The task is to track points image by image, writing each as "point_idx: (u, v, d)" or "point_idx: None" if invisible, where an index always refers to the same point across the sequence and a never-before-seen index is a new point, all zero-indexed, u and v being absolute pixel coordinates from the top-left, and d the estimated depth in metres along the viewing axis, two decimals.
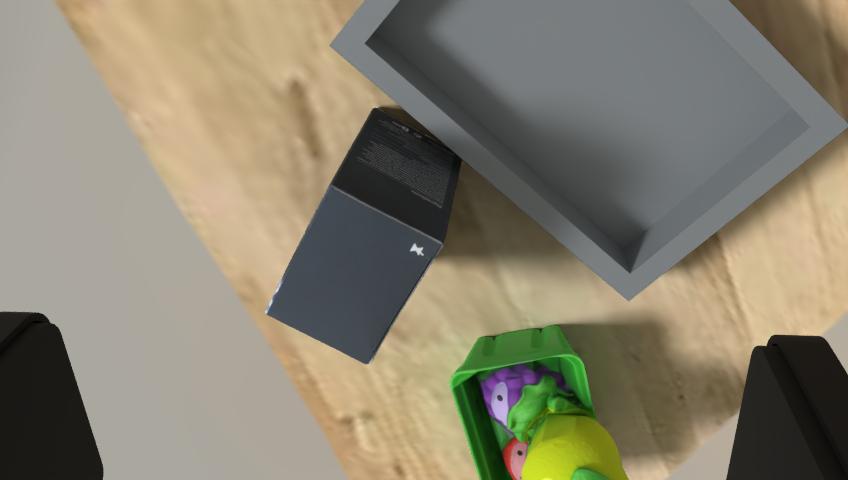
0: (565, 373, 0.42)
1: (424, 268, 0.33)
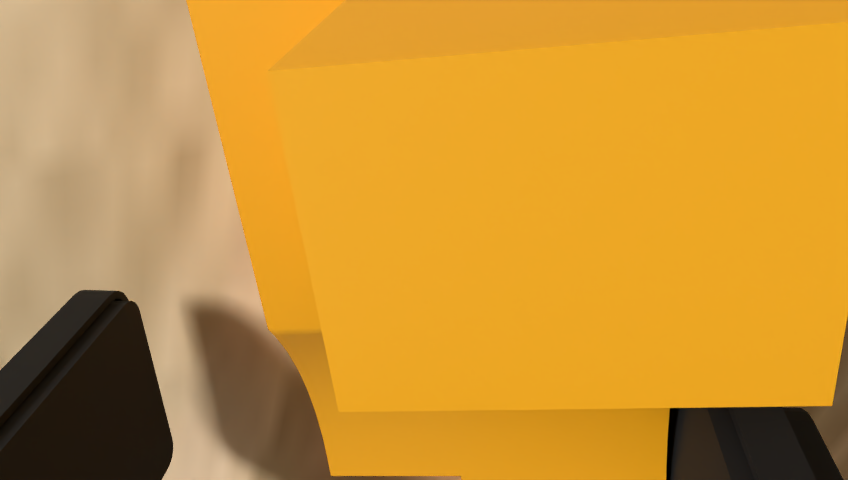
0: None
1: None
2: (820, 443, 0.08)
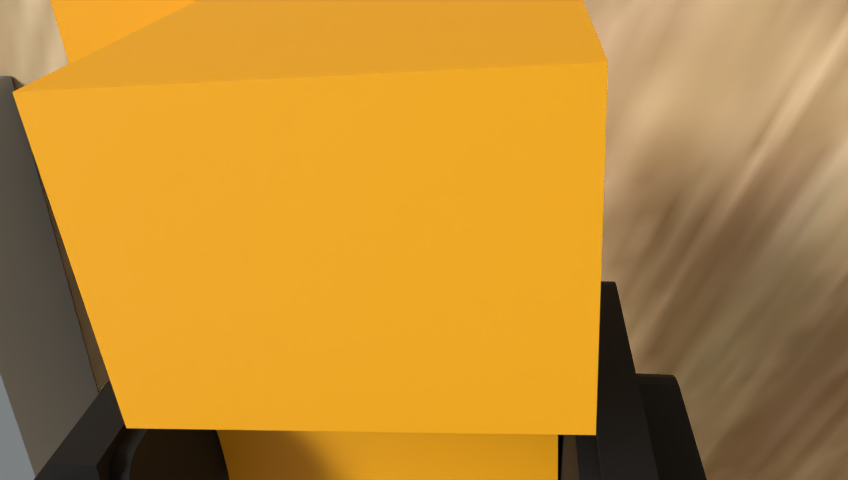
0: None
1: None
2: (682, 405, 0.09)
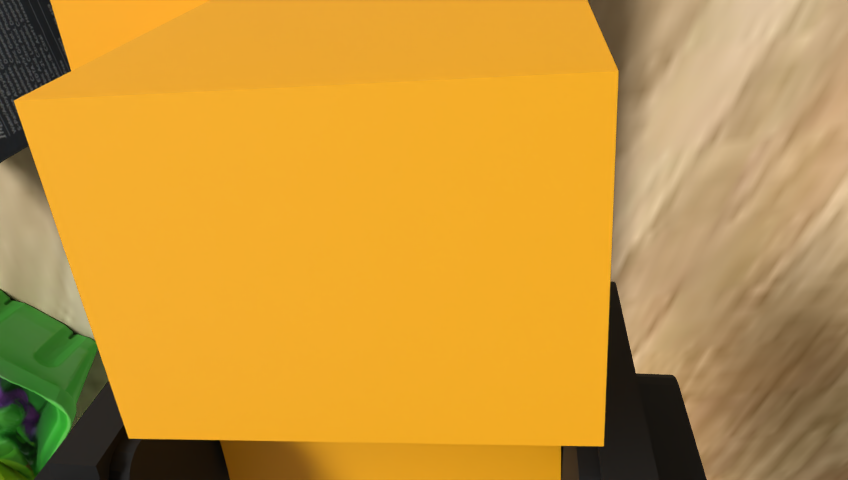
0: (44, 417, 0.29)
1: None
2: (682, 405, 0.09)
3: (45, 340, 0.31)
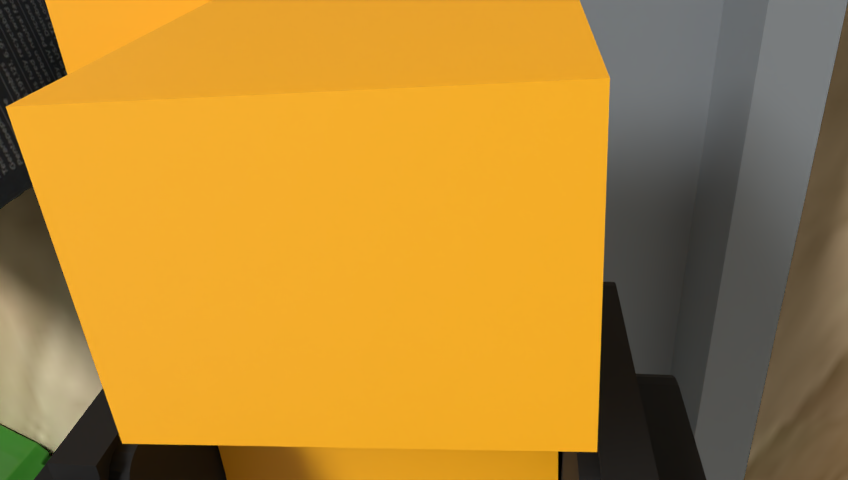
0: None
1: None
2: (682, 405, 0.09)
3: (8, 473, 0.22)
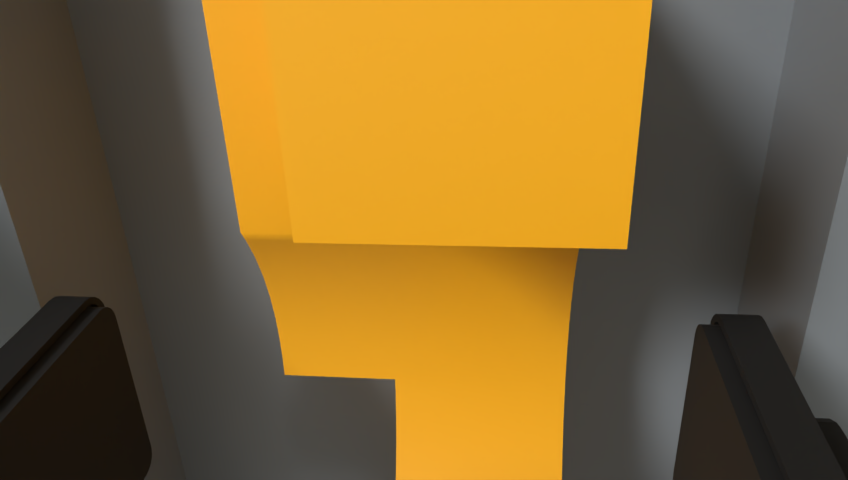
0: None
1: None
2: None
3: None
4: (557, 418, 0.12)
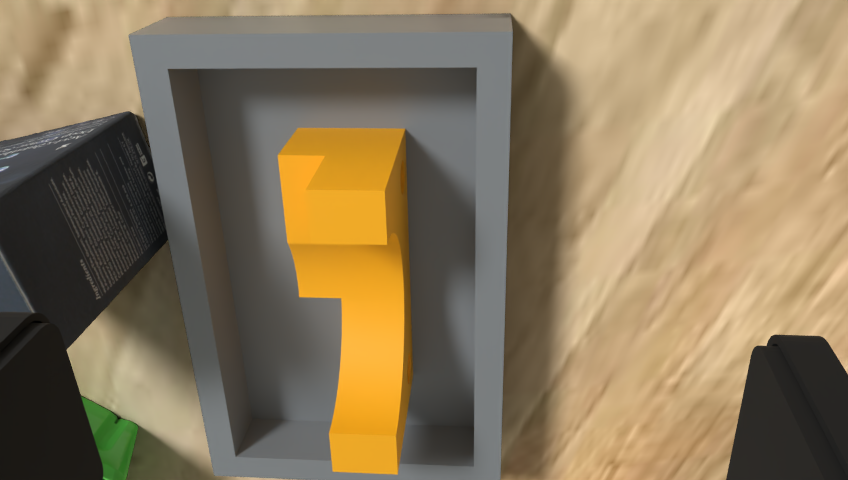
0: None
1: None
2: None
3: (97, 426, 0.37)
4: (402, 312, 0.31)
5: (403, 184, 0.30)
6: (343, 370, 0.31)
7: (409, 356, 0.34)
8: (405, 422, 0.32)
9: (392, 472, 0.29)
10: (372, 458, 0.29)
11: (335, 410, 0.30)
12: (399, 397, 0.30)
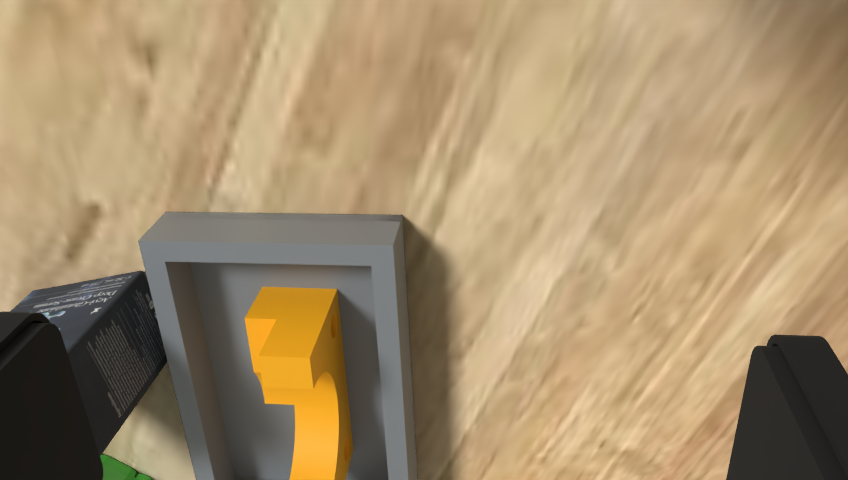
0: None
1: None
2: None
3: None
4: (337, 415, 0.43)
5: (336, 328, 0.42)
6: (295, 455, 0.43)
7: (348, 439, 0.46)
8: None
9: None
10: None
11: None
12: (333, 476, 0.43)
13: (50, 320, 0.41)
